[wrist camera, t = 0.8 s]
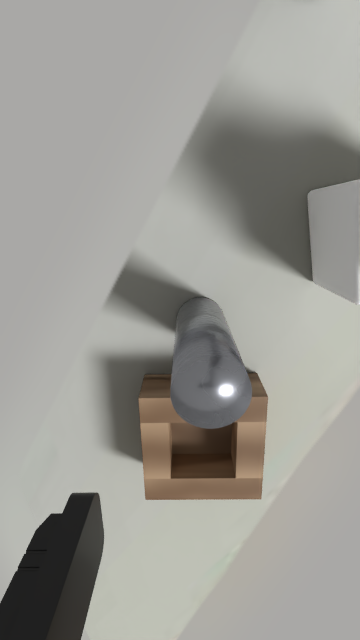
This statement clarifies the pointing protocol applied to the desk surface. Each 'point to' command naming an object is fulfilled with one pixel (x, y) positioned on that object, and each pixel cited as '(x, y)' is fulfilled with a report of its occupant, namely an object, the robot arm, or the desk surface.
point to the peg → (207, 368)
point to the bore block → (200, 448)
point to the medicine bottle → (336, 238)
